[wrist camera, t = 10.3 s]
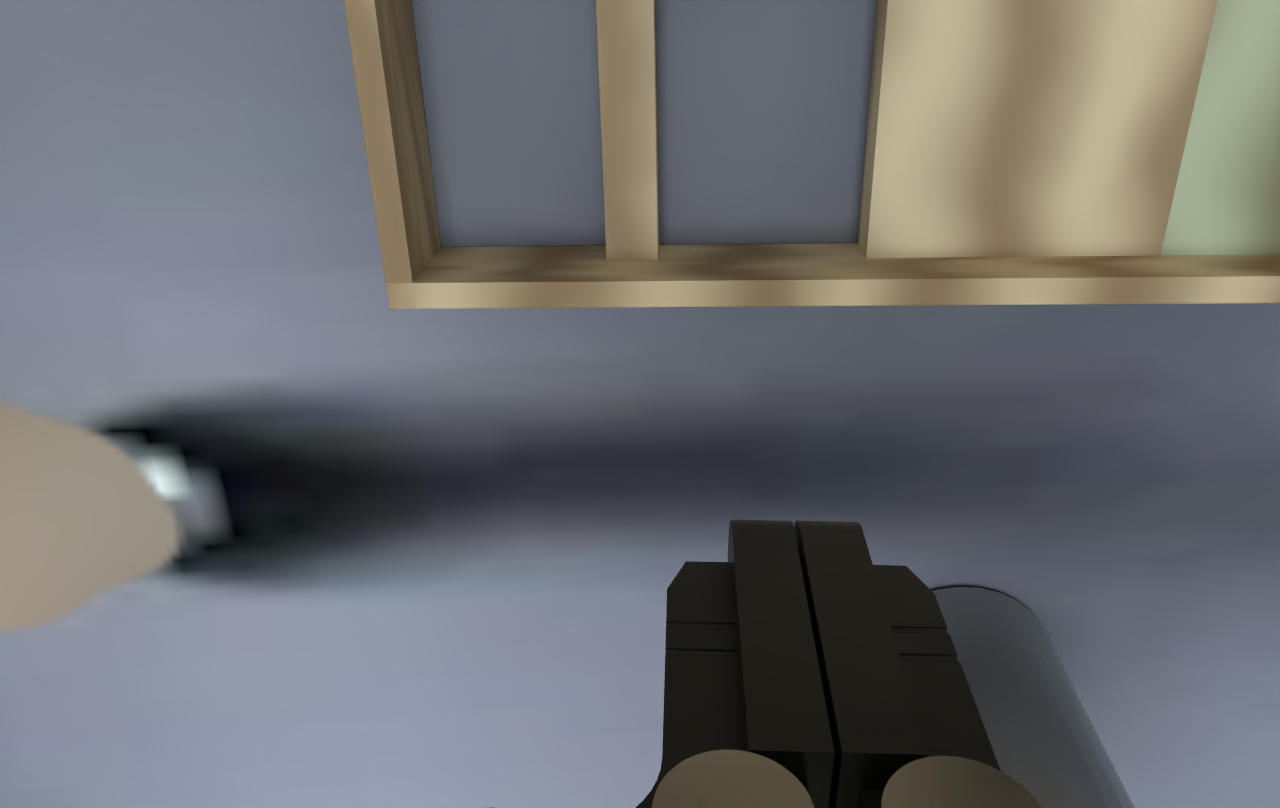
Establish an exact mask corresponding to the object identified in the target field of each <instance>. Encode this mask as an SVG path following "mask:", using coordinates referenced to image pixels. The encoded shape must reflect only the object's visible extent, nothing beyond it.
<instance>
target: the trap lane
mask: <svg viewBox="0 0 1280 808" xmlns="http://www.w3.org/2000/svg"><path fill="white" fill-rule="evenodd" d="M344 5H345V12H346V19H347V25H348V32H349V39H350V46H351V52H352V59H353V66H354V73H355V79H356V86H357V93H358V100H359V106H360V113H361V120H362V127H363V133H364V140H365V147H366V154H367V160H368V167H369V174H370V181H371V187H372V194H373V201H374V208H375V214H376V221H377V228H378V235H379V241H380V248H381V255H382V262H383V268H384V275H385V282H386V289H387V296H388V302H389V309H426V308H578V307H730V306H882V305H1035V304H1187V303H1280V0H877V9H876V22H875V34H874V47H873V59H872V72H871V85H870V97H869V110H868V123H867V135H866V148H865V160H864V173H863V186H862V198H861V211H860V224H859V236H858V243H810V244H709V245H659V196H658V130H657V64H656V0H596V15H597V39H598V64H599V89H600V113H601V138H602V163H603V187H604V212H605V236H606V246H506V247H441V246H440V238H439V230H438V221H437V213H436V205H435V196H434V188H433V179H432V171H431V163H430V154H429V146H428V137H427V129H426V121H425V112H424V104H423V96H422V87H421V79H420V70H419V62H418V54H417V45H416V37H415V29H414V20H413V12H412V3H411V0H344Z"/></svg>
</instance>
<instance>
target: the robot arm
mask: <svg viewBox="0 0 1280 808" xmlns="http://www.w3.org/2000/svg"><path fill="white" fill-rule="evenodd" d="M636 808H1134V806H1133V804H1132V802H1131V800H1130V798H1129V796H1128V794H1127V792H1126V790H1125V788H1124V786H1123V784H1122V782H1121V780H1120V778H1119V776H1118V774H1117V772H1116V771H1115V769H1114V767H1113V765H1112V763H1111V761H1110V759H1109V757H1108V755H1107V753H1106V751H1105V749H1104V747H1103V745H1102V743H1101V741H1100V739H1099V737H1098V735H1097V733H1096V731H1095V729H1094V727H1093V725H1092V723H1091V722H1090V720H1089V718H1088V716H1087V714H1086V712H1085V710H1084V708H1083V706H1082V704H1081V702H1080V700H1079V698H1078V696H1077V694H1076V692H1075V690H1074V688H1073V685H1072V684H1071V682H1070V680H1069V678H1068V676H1067V674H1066V672H1065V670H1064V668H1063V666H1062V664H1061V662H1060V660H1059V658H1058V656H1057V654H1056V652H1055V650H1054V649H1053V647H1052V645H1051V643H1050V641H1049V639H1048V637H1047V635H1046V633H1045V631H1044V629H1043V627H1042V625H1041V623H1040V622H1039V621H1038V619H1037V618H1036V617H1035V616H1034V615H1033V613H1032V612H1031V611H1030V610H1029V609H1028V608H1026V607H1025V606H1024V605H1022V604H1021V603H1019V602H1018V601H1017V600H1015V599H1013V598H1011V597H1008V596H1006V595H1004V594H1002V593H999V592H996V591H991V590H987V589H982V588H973V587H953V588H945V589H937V590H934V591H931V590H930V589H929V588H928V587H927V586H926V585H925V584H924V583H923V582H922V581H921V580H920V579H919V578H918V577H917V576H916V575H915V574H914V573H913V572H912V571H911V570H910V569H909V568H908V567H907V566H889V565H873V564H872V561H871V558H870V554H869V551H868V547H867V544H866V541H865V537H864V534H863V530H862V527H861V525H860V523H859V522H830V521H796V522H795V525H794V526H793V522H792V521H765V520H730V526H729V543H728V562H685V564H684V565H683V567H682V568H681V570H680V571H679V573H678V574H677V575H676V577H675V578H674V580H673V581H672V583H671V584H670V586H669V587H668V589H667V618H666V655H665V688H664V723H663V757H662V765H661V770H660V773H659V776H658V779H657V781H656V783H655V785H654V787H653V788H652V790H651V792H650V793H649V794H648V795H647V797H646V798H645V799H644V800H643V801H642V802H641V803H640V804H639V805H638V806H637V807H636Z"/></svg>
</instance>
